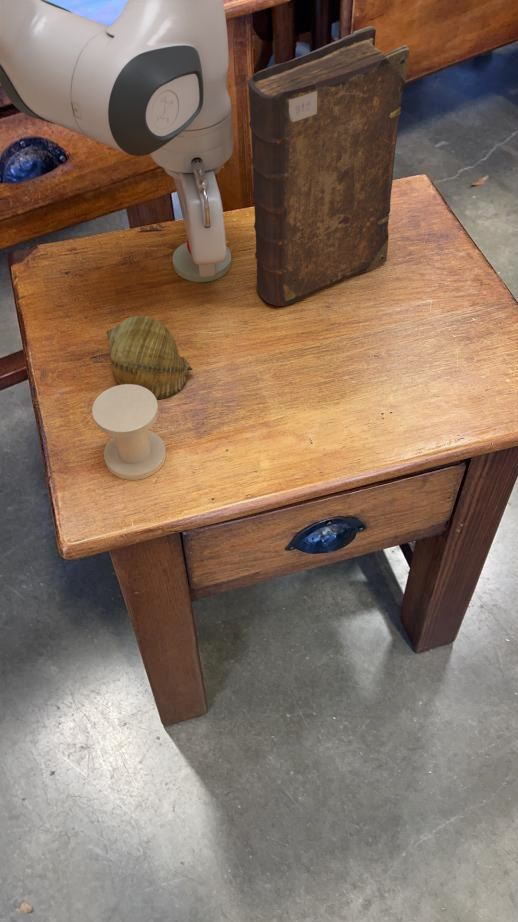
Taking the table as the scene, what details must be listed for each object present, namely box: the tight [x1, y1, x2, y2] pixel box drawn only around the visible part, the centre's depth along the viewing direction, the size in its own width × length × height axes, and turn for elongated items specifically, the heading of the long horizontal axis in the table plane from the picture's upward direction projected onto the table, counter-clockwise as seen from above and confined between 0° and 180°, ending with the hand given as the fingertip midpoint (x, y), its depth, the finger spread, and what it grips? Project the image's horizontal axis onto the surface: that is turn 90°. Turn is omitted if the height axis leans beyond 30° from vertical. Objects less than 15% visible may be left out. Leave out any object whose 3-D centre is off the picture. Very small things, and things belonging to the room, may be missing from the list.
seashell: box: [106, 315, 193, 400], centre depth 87 cm, size 10×7×8 cm
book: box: [247, 25, 410, 307], centre depth 88 cm, size 17×7×25 cm, turn 121°
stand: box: [91, 384, 167, 481], centre depth 79 cm, size 6×6×7 cm
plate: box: [171, 241, 233, 283], centre depth 99 cm, size 7×7×1 cm
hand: (200, 247), depth 98 cm, fingers open, 8 cm apart
